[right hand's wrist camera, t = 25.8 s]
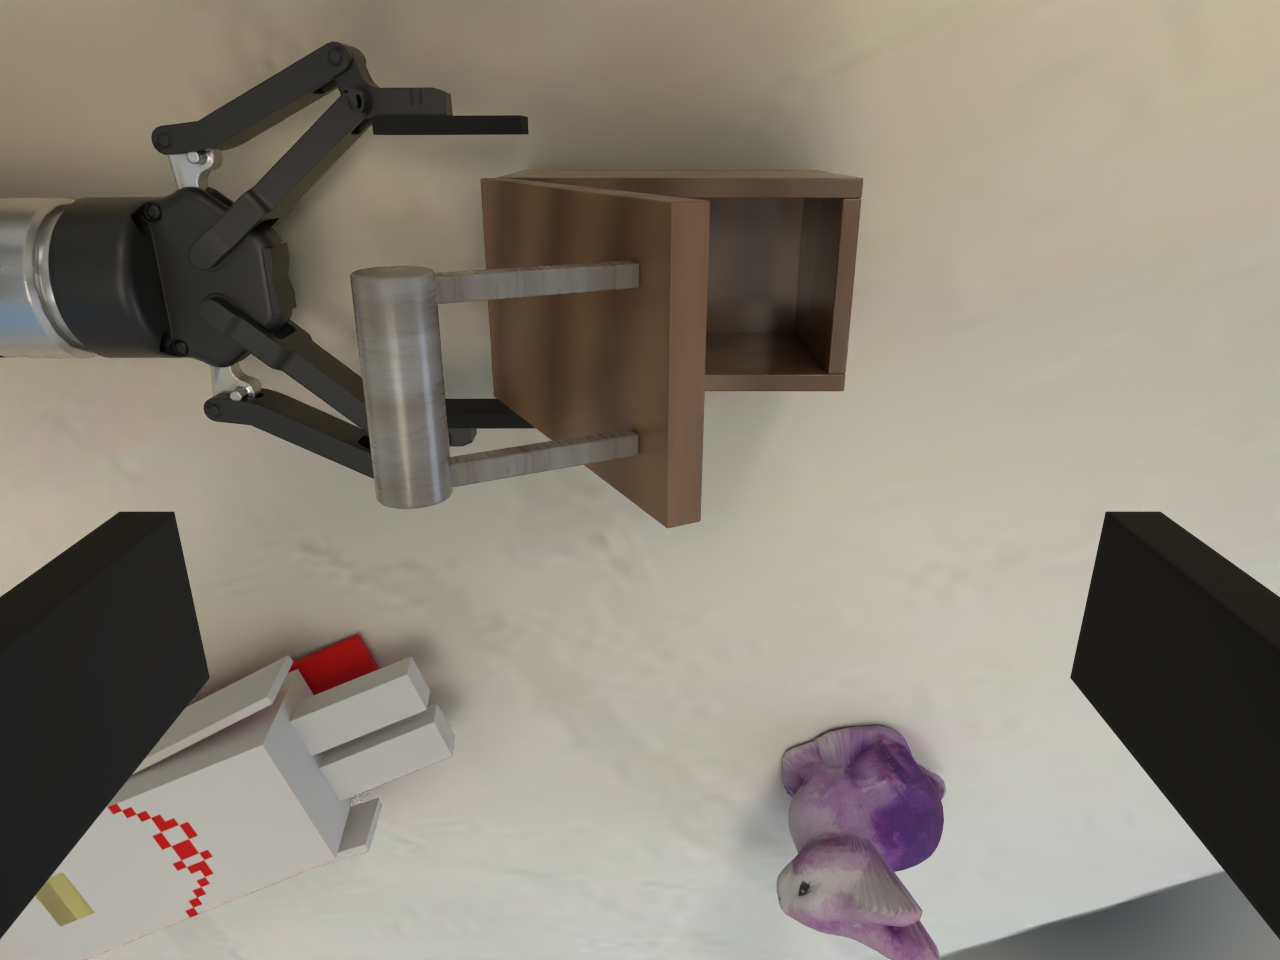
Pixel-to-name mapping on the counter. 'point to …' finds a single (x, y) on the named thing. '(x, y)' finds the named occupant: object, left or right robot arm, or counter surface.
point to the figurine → (860, 838)
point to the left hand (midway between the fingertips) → (532, 277)
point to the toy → (239, 800)
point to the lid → (553, 347)
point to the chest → (764, 268)
